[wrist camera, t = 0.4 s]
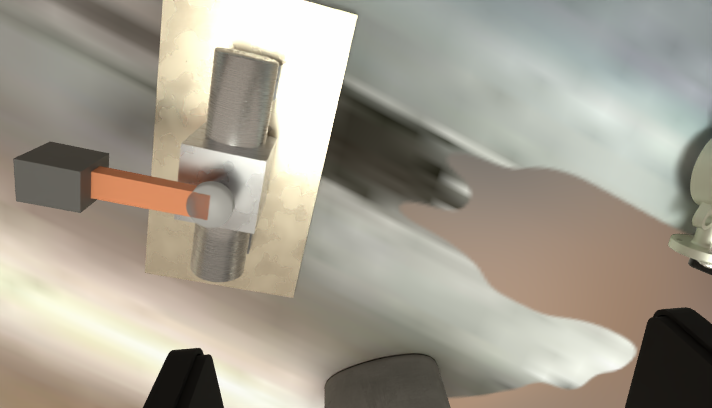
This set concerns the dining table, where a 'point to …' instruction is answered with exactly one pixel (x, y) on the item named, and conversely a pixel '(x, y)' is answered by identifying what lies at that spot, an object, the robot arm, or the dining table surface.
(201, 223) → the valve lever
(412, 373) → the flask
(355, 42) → the dining table surface
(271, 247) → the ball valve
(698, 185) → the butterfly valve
